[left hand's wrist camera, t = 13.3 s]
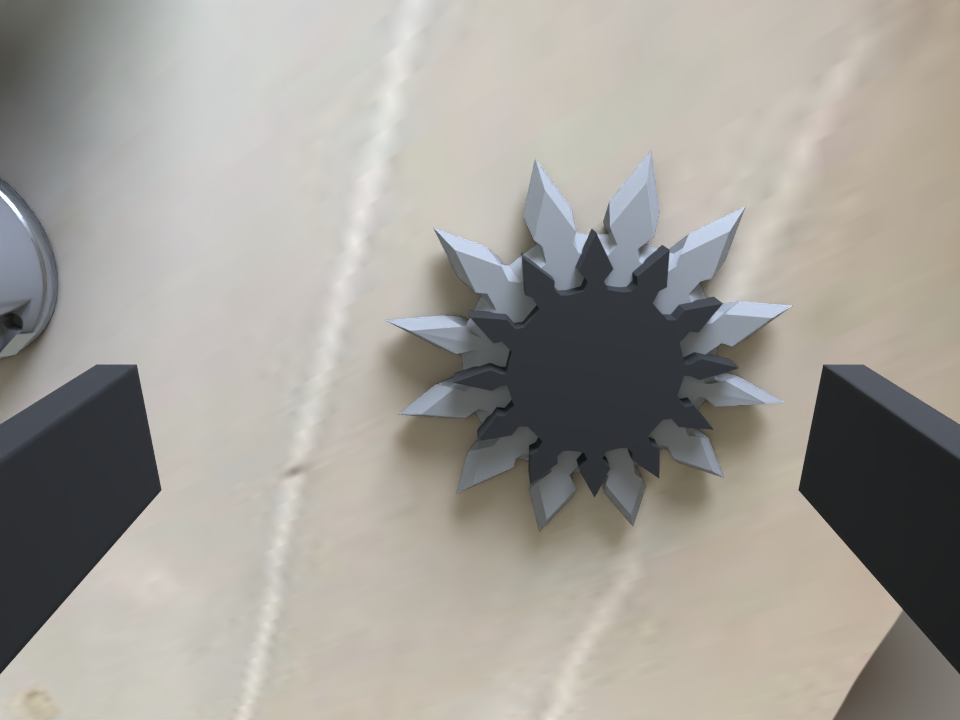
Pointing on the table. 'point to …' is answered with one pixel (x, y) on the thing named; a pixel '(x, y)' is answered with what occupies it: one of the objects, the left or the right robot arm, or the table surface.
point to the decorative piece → (591, 348)
